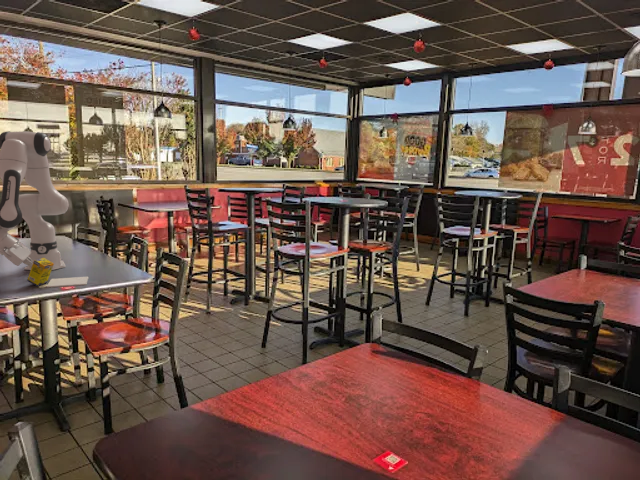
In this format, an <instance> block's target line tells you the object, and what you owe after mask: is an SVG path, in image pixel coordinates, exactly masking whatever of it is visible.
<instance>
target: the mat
mask: <svg viewBox="0 0 640 480" xmlns="http://www.w3.org/2000/svg"><path fill="white" fill-rule="evenodd" d="M88 281H89V276H77V277H62V278H60V277H58V278H51V279H50V281H48V282H47V285H46V288H62V287H73V286H75V287H77V286H87V284H88Z"/></svg>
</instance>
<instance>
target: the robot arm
mask: <svg viewBox="0 0 640 480" xmlns="http://www.w3.org/2000/svg"><path fill="white" fill-rule="evenodd" d="M51 146H52V143H51V139H50V137H49V135H47V134H46V133H43V132H35V131H28V130H26V131H25V130H23V131H11V130H10V131H3V132H1V133H0V181H1V183H2V190H1V198H0V199H1V200H0V255H1V256H4V257H5V258H6V259H7V260H8V261H10V263H12V264H13V265H15V266H17V267H18V266H20V265H21V264H22V263H23V264H24V265H27V266H25V267H24V270H27V271H28V270H29V271H31V268H32V265H33V262H34V260H38V259H42V258H45V259H47V260H49V261H50V262H52V263H54V265H53V268H52V270H51V271H55V270H58V269H64V268H66V263H65V262H64V260H63V258H62V256H61V252H60V251H59V249H58V243H57V240H56V230H55V226H54V225H53V224H52V223H50V222H48V221H46V220H45V219H43V217H42V216H58V215H62V214H63V215H64V214H66V212H67V211H68V210H69V206H70V204H69V203H70V202H69V199H68V198H67V197H66V196H65V195H64V194H61V193H60V192H59V191H58V190H57V189H56V187H55V186H54V184H53V182H52V178H51V173H50V166H49V165H50V163H49V159H48V156H47V155H48V153H49V152H50V151H51V148H52V147H51ZM23 181H25V183H26V184H27V185H28V186H29V187H31V188H34V189H36V191H38V193H22V194H20V189H21V184H22V183H23ZM22 220H24V221H25V223H26V225H27V226H28V229H29V235H30V236H29V237H30V245H29V247H30V248H29V247H27V246H26V245H25V244H23V243H22V242H21V241H20V238H18V237H15V236H12V234H10V233H9V232H10V231H12V230H13V229H15V228H16V227H17V226H18V225H20V223H21V222H22Z"/></svg>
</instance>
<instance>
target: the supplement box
mask: <svg viewBox="0 0 640 480" xmlns="http://www.w3.org/2000/svg"><path fill="white" fill-rule="evenodd" d="M53 265H54V263H52V262H50V261H49V260H47V259H45V258H42V259H38V260H34V262H33V265H32V268H31V270H29V273H28V277H27V280H26V281H27V282H29V283H31V284H32V285H34V286H35V287H39V286H42V285H46V284H48V282H49V281H48V280H49V278H50V276H51V273H52V271H53V270H52V268H53Z"/></svg>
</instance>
